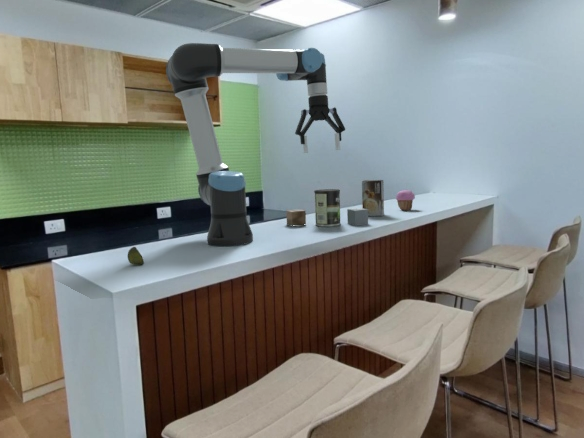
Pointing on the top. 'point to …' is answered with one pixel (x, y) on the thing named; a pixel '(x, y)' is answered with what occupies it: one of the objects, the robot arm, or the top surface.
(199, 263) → the top surface
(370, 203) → the coffee box
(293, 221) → the walnut block
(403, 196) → the cupcake
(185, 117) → the robot arm
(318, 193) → the coffee can
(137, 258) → the lime
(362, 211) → the slate block
